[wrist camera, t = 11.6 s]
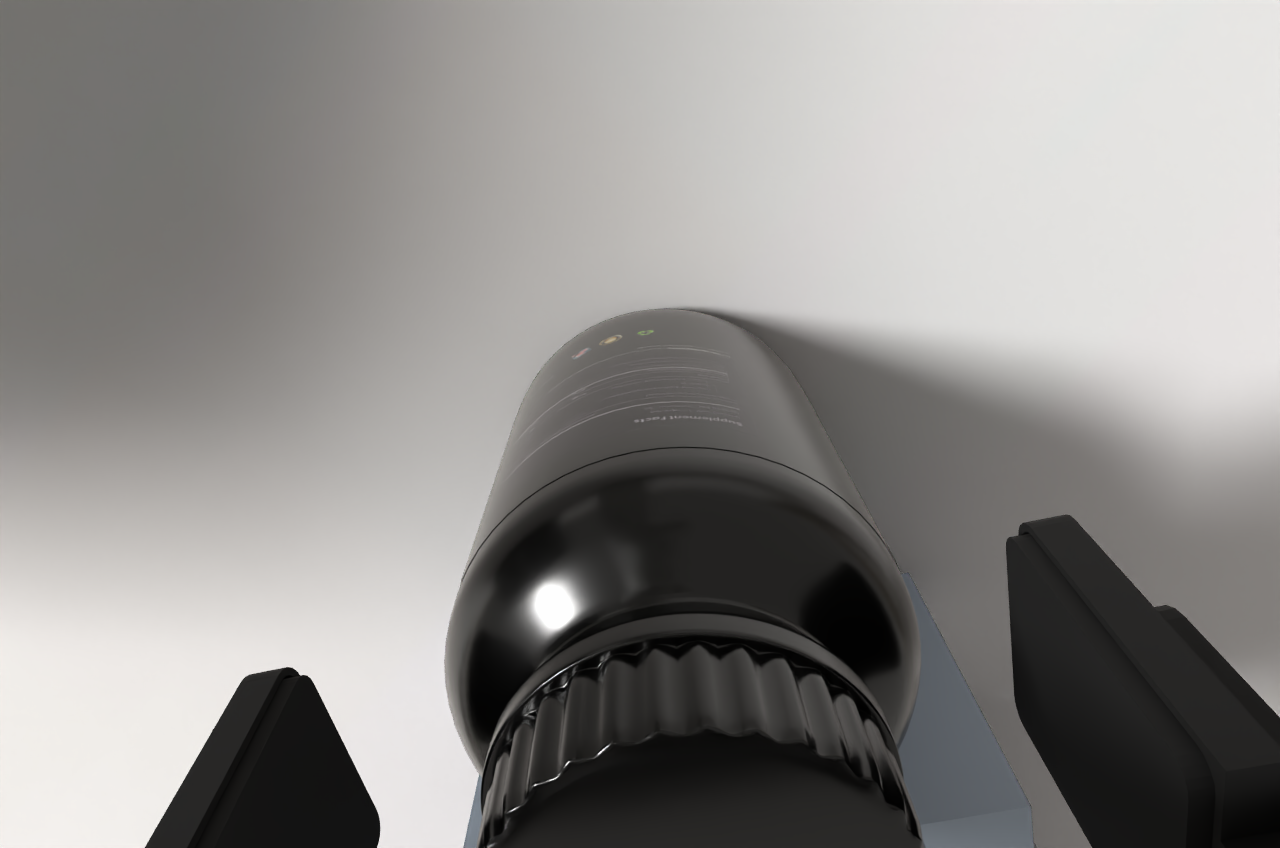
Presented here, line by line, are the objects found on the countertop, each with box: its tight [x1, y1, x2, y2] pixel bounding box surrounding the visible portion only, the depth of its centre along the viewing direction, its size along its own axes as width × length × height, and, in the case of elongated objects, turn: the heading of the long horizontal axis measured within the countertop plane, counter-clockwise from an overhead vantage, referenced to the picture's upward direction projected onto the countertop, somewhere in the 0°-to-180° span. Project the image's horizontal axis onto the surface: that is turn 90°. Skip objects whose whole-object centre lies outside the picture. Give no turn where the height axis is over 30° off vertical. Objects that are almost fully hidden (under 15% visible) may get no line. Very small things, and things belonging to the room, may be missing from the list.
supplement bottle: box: [444, 309, 926, 848], centre depth 14 cm, size 7×7×12 cm
